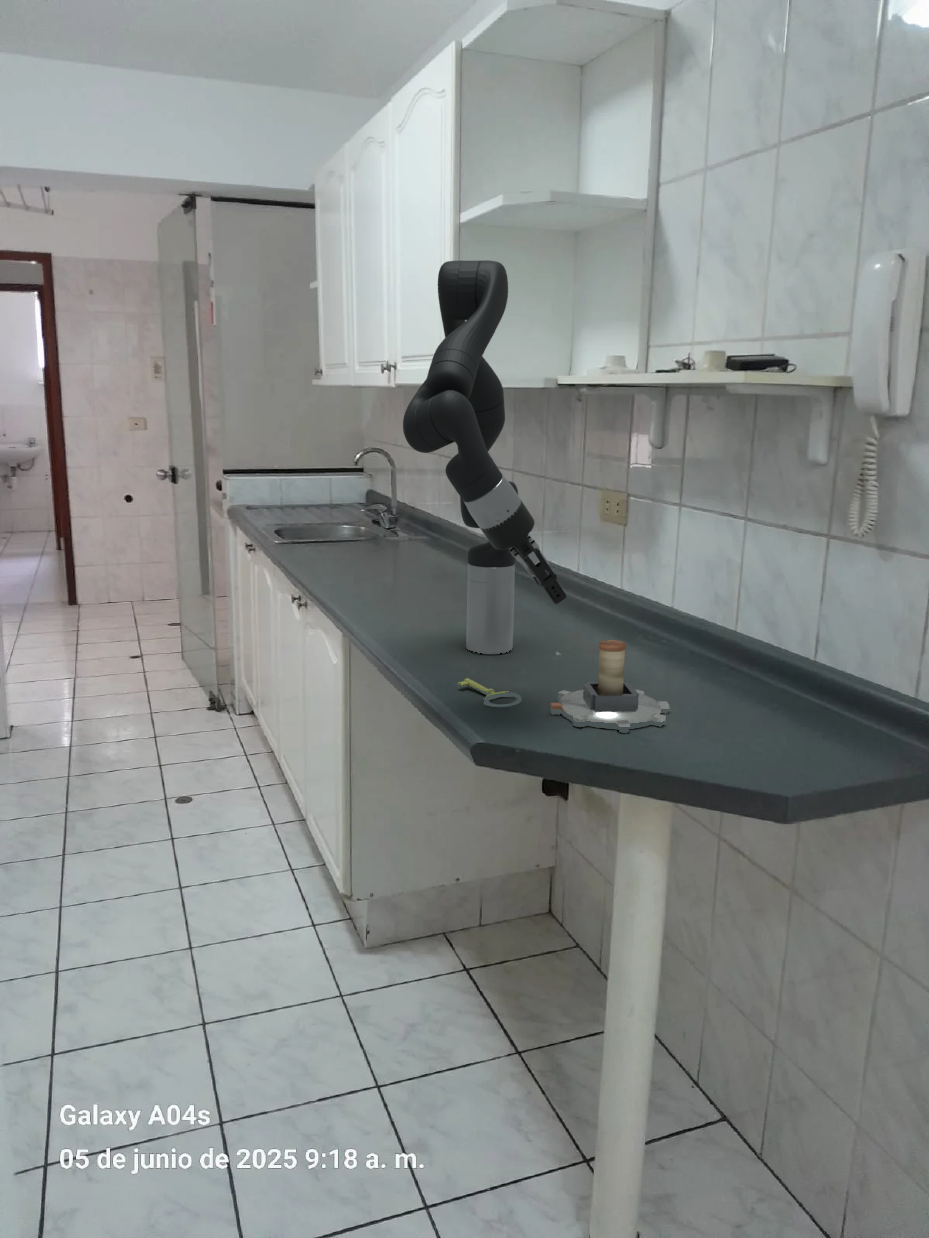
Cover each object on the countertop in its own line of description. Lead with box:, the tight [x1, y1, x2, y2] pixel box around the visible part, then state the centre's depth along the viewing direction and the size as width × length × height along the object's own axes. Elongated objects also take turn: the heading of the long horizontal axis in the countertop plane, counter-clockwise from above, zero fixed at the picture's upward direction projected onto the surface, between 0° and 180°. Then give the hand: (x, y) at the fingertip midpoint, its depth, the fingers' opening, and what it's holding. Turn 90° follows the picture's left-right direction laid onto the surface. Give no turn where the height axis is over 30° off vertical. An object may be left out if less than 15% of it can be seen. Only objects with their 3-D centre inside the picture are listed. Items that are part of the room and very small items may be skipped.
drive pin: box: [597, 639, 627, 694], centre depth 150 cm, size 4×4×10 cm
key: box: [457, 677, 510, 698], centre depth 158 cm, size 7×12×2 cm, turn 57°
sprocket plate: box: [549, 681, 670, 727], centre depth 151 cm, size 19×19×4 cm
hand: (552, 591), depth 149 cm, fingers open, 8 cm apart
